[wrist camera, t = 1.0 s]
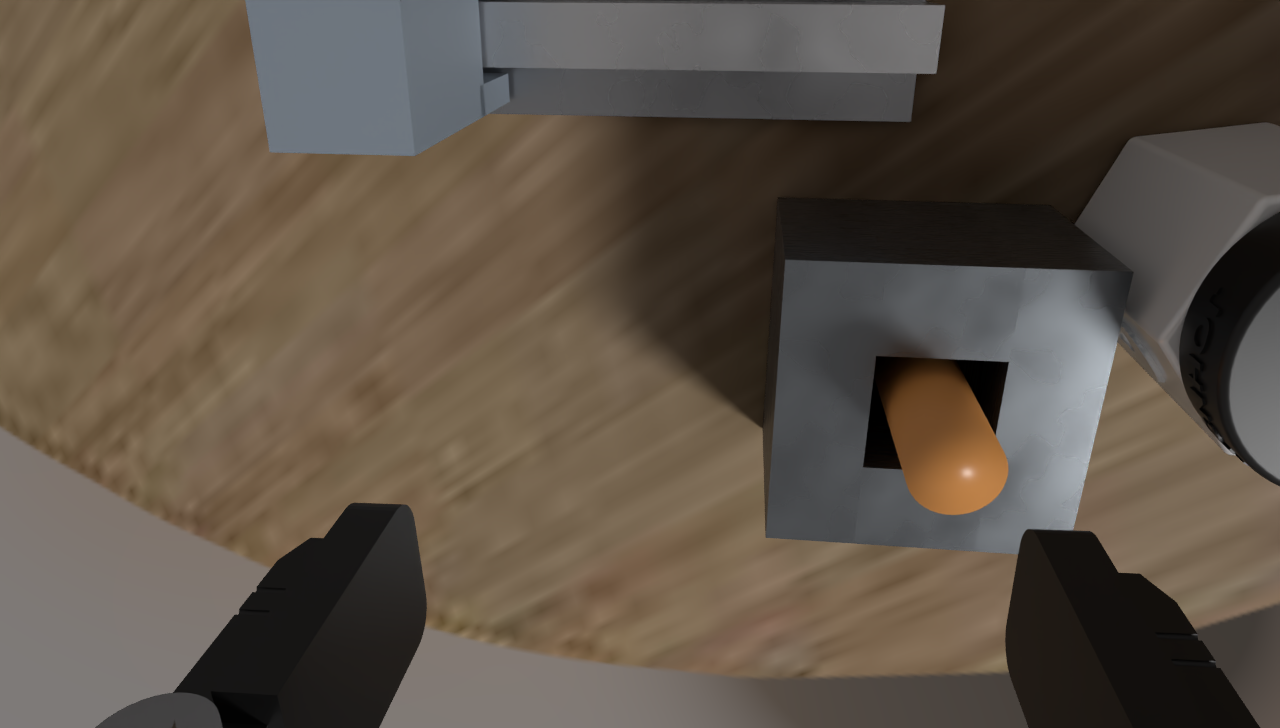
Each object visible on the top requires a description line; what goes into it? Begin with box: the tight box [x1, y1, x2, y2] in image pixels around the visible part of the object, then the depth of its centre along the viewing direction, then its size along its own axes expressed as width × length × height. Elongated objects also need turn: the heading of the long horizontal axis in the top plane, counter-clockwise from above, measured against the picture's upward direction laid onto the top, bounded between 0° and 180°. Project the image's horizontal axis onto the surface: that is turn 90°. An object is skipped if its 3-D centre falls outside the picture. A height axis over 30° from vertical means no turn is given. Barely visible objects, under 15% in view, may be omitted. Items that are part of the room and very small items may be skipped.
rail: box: [478, 0, 945, 122], centre depth 31 cm, size 6×21×4 cm, turn 90°
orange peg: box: [874, 356, 1008, 515], centre depth 29 cm, size 3×3×8 cm
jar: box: [1074, 122, 1280, 486], centre depth 28 cm, size 9×8×12 cm
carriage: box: [245, 0, 510, 156], centre depth 28 cm, size 5×4×10 cm
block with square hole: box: [763, 197, 1134, 554], centre depth 32 cm, size 10×10×8 cm
